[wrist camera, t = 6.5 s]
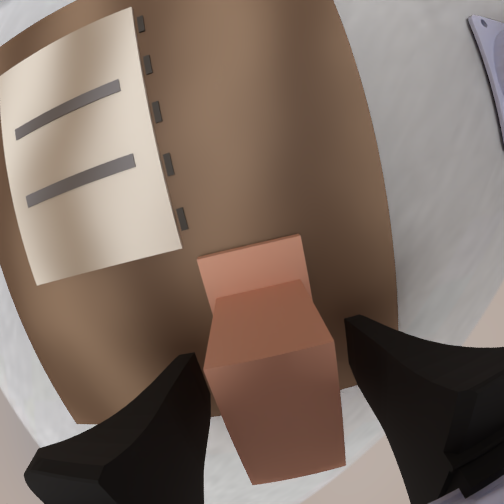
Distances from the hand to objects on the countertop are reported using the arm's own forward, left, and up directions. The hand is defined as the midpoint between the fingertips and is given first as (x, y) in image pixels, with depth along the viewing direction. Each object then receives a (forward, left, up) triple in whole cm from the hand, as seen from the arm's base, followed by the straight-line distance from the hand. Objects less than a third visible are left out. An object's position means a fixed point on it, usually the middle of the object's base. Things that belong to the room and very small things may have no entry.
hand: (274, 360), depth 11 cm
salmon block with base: (0, 0, -1) cm, 1 cm away
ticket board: (+3, -7, -3) cm, 8 cm away
